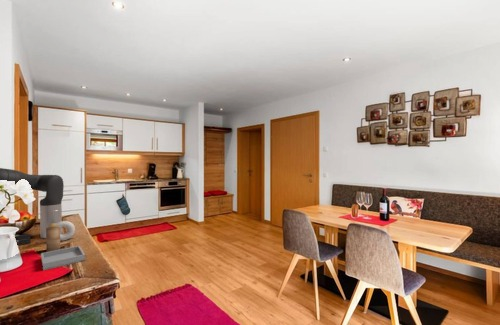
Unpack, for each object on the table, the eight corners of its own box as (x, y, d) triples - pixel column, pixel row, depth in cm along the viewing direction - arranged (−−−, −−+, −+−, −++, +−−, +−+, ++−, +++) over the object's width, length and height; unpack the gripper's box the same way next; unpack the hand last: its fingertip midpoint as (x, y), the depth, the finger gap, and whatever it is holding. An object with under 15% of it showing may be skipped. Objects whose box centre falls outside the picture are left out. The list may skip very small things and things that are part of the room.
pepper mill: (46, 250, 116) (45, 224, 116) (59, 247, 119) (59, 222, 119) (46, 253, 112) (46, 226, 112) (60, 250, 116) (60, 224, 115)
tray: (41, 259, 105) (41, 253, 105) (79, 251, 114) (79, 245, 114) (43, 270, 95) (42, 263, 95) (85, 260, 104) (85, 254, 103)
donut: (74, 237, 134) (74, 218, 134) (75, 239, 131) (75, 220, 131) (51, 241, 128) (50, 222, 128) (51, 243, 125) (50, 223, 125)
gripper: (-27, 242, 94) (30, 233, 105) (-22, 234, 105) (30, 226, 116) (-27, 262, 94) (30, 251, 105) (-21, 252, 105) (30, 243, 116)
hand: (30, 238), depth 110 cm, fingers open, 8 cm apart
